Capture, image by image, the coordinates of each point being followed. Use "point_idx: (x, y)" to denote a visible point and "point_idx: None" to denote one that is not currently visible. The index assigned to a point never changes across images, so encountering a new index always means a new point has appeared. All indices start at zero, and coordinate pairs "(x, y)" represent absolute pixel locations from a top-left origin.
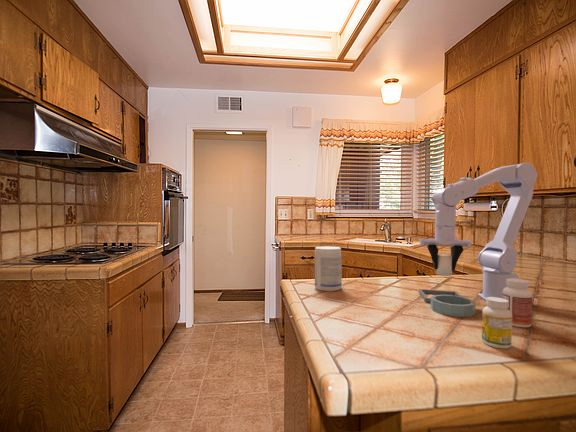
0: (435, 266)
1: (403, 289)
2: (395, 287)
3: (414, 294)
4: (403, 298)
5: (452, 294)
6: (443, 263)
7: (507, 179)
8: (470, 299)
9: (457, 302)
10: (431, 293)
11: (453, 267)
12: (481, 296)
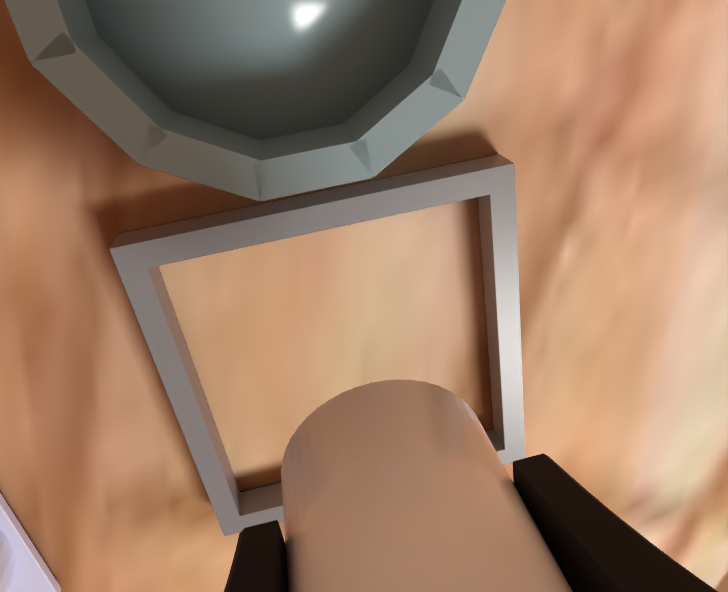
0: (569, 479)
1: (612, 466)
2: (661, 489)
3: (553, 368)
4: (668, 197)
5: (257, 492)
6: (469, 535)
7: None
8: (50, 74)
9: (210, 130)
10: None
11: (263, 554)
12: (22, 535)
